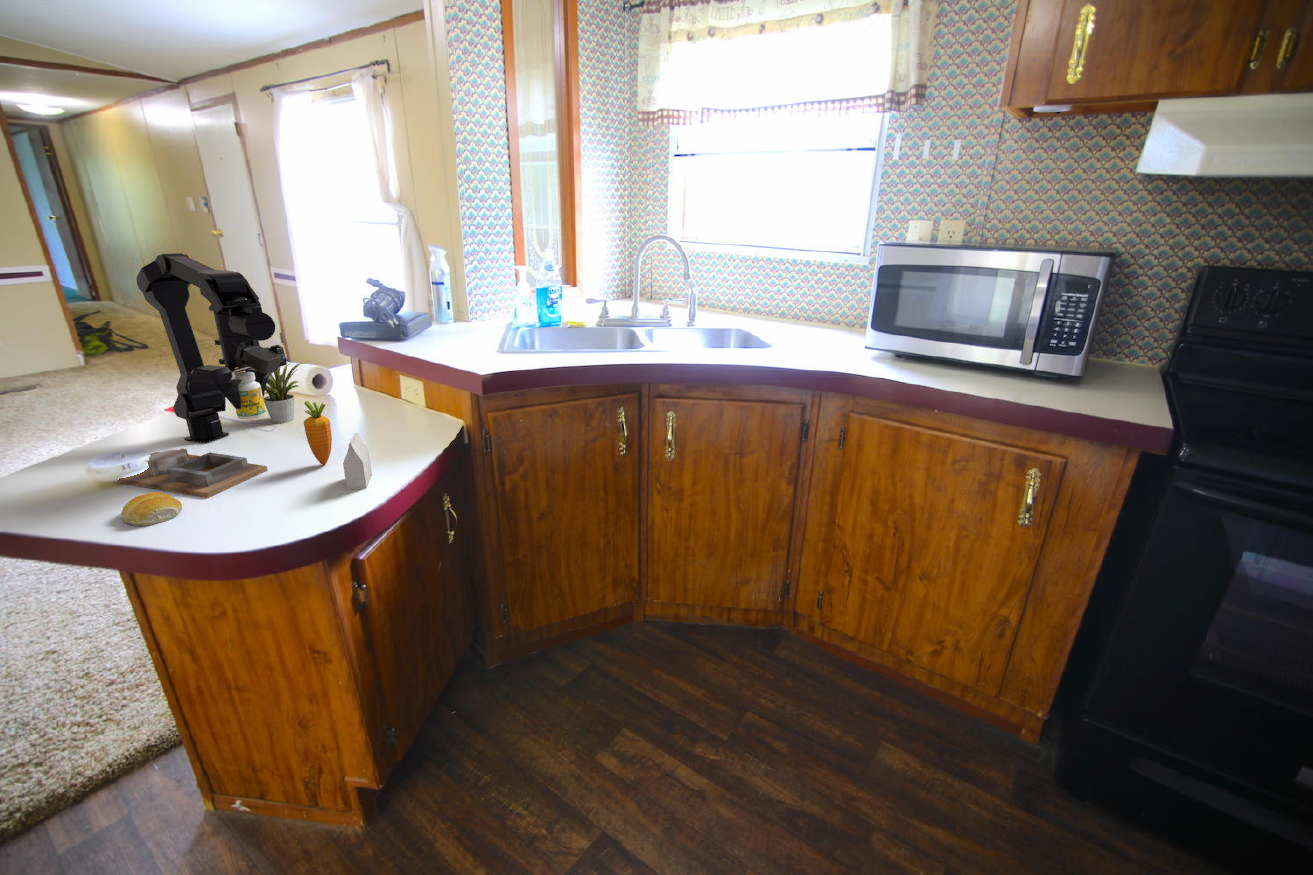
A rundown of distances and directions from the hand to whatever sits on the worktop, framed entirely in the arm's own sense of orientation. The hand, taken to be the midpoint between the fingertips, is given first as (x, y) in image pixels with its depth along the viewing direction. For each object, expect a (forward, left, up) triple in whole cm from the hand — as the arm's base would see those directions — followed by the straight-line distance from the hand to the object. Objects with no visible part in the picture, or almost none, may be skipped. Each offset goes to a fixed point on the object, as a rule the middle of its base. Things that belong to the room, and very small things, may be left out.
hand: (249, 405), depth 129 cm
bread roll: (+4, -27, -13) cm, 31 cm away
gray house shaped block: (+29, -4, -13) cm, 32 cm away
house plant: (-15, +24, -13) cm, 31 cm away
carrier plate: (-4, -12, -12) cm, 18 cm away
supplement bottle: (0, 0, -3) cm, 3 cm away
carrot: (+16, +1, -13) cm, 20 cm away
